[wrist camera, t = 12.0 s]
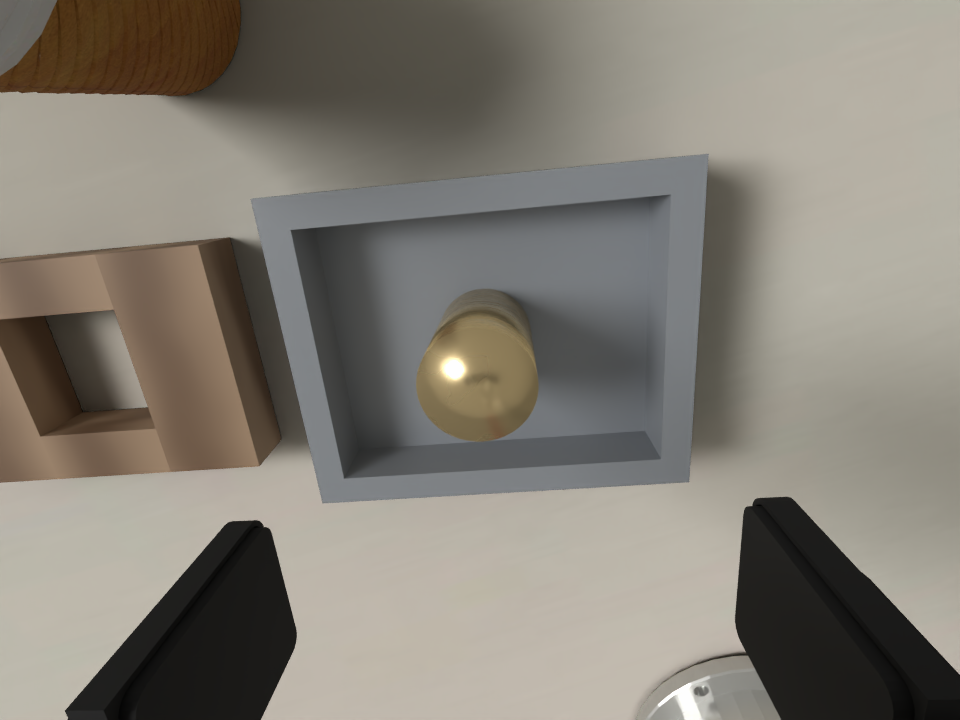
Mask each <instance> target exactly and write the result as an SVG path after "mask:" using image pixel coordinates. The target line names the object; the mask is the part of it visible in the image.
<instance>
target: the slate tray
mask: <svg viewBox="0 0 960 720" xmlns="http://www.w3.org/2000/svg"><path fill="white" fill-rule="evenodd" d="M707 171H708V154H702V155H692V156H682V157H671V158H661V159H651V160H641V161H630V162H620V163H610V164H600V165H590V166H579V167H569V168H559V169H549V170H539V171H528V172H518V173H508V174H498V175H488V176H477V177H467V178H457V179H447V180H437V181H426V182H416V183H406V184H396V185H386V186H375V187H365V188H355V189H345V190H335V191H324V192H314V193H304V194H294V195H284V196H274V197H264V198H253V199H251V203H252V207H253V211H254V215H255V220H256V224H257V228H258V232H259V236H260V241H261V245H262V249H263V253H264V258H265V262H266V266H267V270H268V274H269V279H270V283H271V287H272V291H273V296H274V300H275V304H276V308H277V312H278V317H279V321H280V325H281V329H282V334H283V338H284V342H285V346H286V350H287V355H288V359H289V363H290V367H291V372H292V376H293V380H294V384H295V389H296V393H297V397H298V401H299V405H300V410H301V414H302V418H303V422H304V427H305V431H306V435H307V439H308V443H309V448H310V452H311V456H312V460H313V465H314V469H315V473H316V477H317V481H318V486H319V490H320V494H321V498H322V503H337V502H354V501H371V500H389V499H406V498H423V497H441V496H458V495H475V494H492V493H510V492H527V491H544V490H561V489H579V488H596V487H613V486H631V485H648V484H665V483H682V482H689V477H690V460H691V443H692V426H693V409H694V392H695V375H696V358H697V341H698V324H699V307H700V290H701V273H702V256H703V239H704V222H705V205H706V188H707ZM477 289H493V290H497V291H501V292H503V293H505V294H507V295H509V296H511V297H512V298H514V299H515V300H516V301H517V302H518V303H519V304H520V305H521V306H522V308H523V309H524V311H525V312H526V314H527V316H528V319H529V322H530V327H531V334H532V341H533V348H534V355H535V362H536V368H537V375H538V382H539V390H538V397H537V401H536V404H535V407H534V409H533V411H532V413H531V414H530V416H529V417H528V419H527V420H526V421H525V422H524V423H523V424H522V425H521V426H520V427H519V428H518V429H516V430H515V431H514V432H512V433H510V434H508V435H507V436H504V437H502V438H499V439H495V440H491V441H484V442H474V441H466V440H462V439H459V438H456V437H453V436H451V435H449V434H447V433H445V432H444V431H442V430H441V429H439V428H438V427H437V426H436V425H434V424H433V423H432V421H431V420H430V419H429V418H428V417H427V415H426V414H425V413H424V411H423V409H422V407H421V405H420V402H419V400H418V395H417V390H416V377H417V372H418V368H419V365H420V363H421V360H422V358H423V356H424V354H425V352H426V350H427V348H428V346H429V344H430V342H431V340H432V338H433V335H434V333H435V331H436V329H437V327H438V325H439V323H440V321H441V319H442V317H443V315H444V313H445V311H446V309H447V308H448V306H449V305H450V304H451V303H452V302H453V301H454V300H455V299H456V298H458V297H459V296H461V295H462V294H464V293H466V292H469V291H472V290H477Z"/></svg>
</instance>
